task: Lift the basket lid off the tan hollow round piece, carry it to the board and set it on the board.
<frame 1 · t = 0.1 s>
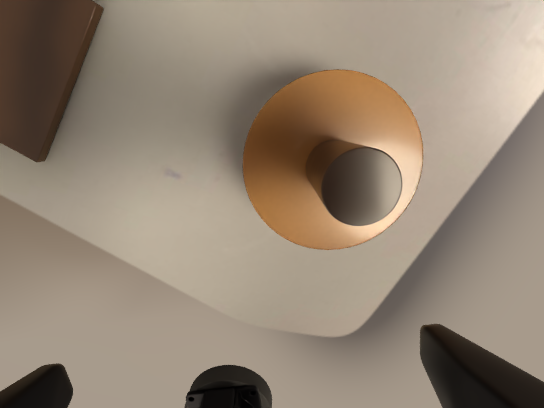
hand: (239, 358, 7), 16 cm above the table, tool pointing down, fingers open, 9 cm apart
basket lid: (330, 165, 16), point 5 cm above the table, touching tan hollow round piece
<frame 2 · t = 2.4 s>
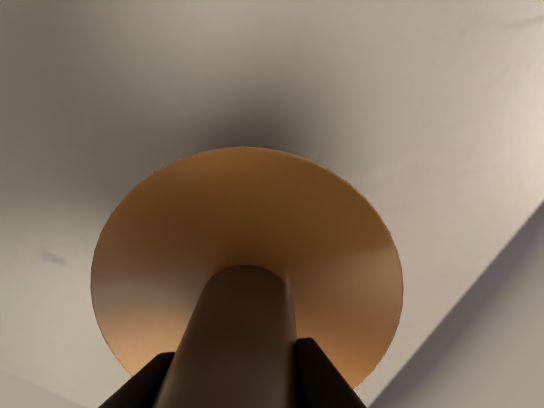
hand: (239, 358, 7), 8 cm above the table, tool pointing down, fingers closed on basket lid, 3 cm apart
basket lid: (248, 295, 10), point 6 cm above the table, touching tan hollow round piece, gripper
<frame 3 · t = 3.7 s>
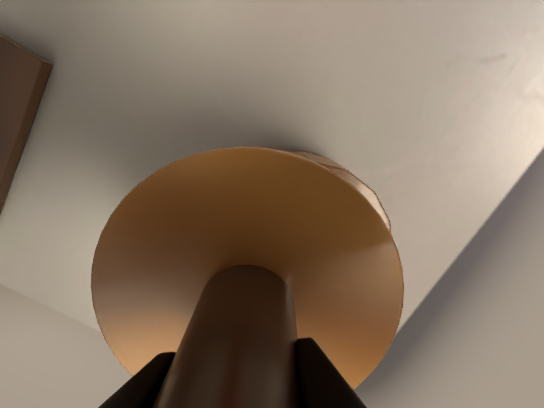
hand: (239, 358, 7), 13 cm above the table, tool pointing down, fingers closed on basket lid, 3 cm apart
basket lid: (248, 295, 10), point 10 cm above the table, touching gripper
tan hollow round piece: (294, 217, 20), on the table
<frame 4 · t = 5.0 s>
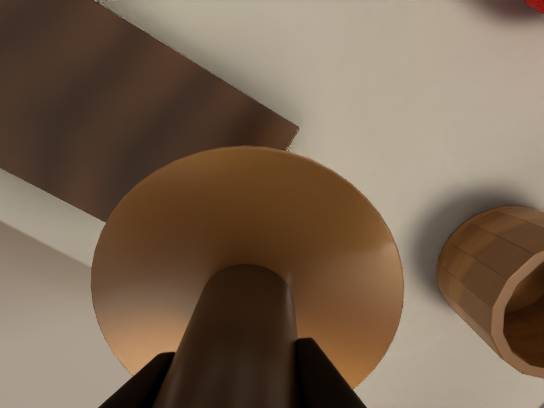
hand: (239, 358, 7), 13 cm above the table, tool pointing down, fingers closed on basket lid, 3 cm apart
basket lid: (248, 294, 10), point 10 cm above the table, touching gripper
tan hollow round piece: (499, 265, 21), on the table
board: (90, 113, 18), on the table
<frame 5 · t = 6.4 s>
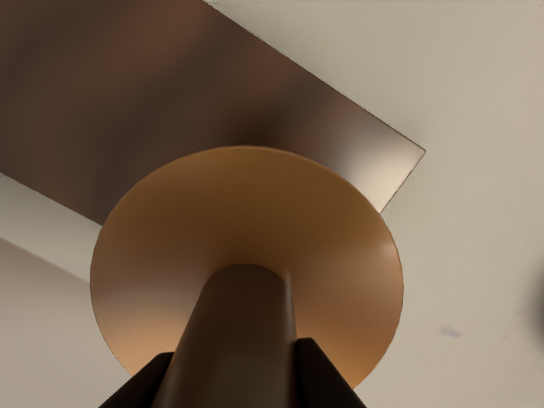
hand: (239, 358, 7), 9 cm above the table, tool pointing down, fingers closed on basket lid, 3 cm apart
basket lid: (248, 294, 10), point 6 cm above the table, touching gripper
board: (159, 127, 14), on the table
when the fingers open (4 cm above the table, at t = 7.8 s): basket lid stays where it is, resting on board.
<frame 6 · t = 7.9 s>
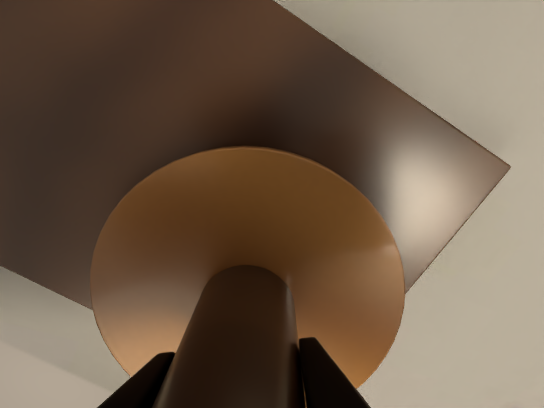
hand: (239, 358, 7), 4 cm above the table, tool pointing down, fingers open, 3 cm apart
basket lid: (248, 296, 10), point 1 cm above the table, touching board
board: (101, 130, 10), on the table
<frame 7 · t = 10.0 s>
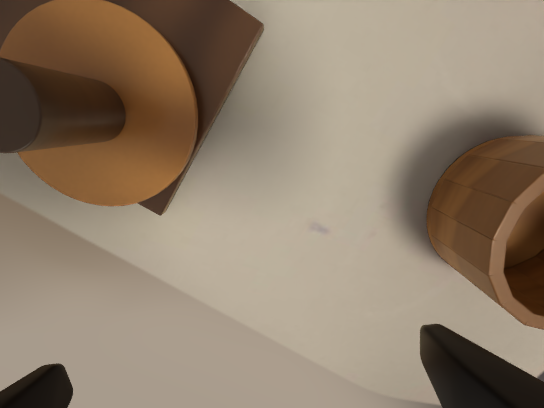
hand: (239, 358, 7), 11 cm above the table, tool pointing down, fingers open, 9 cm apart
basket lid: (103, 112, 15), point 1 cm above the table, touching board
tan hollow round piece: (499, 209, 18), on the table
board: (6, 2, 15), on the table
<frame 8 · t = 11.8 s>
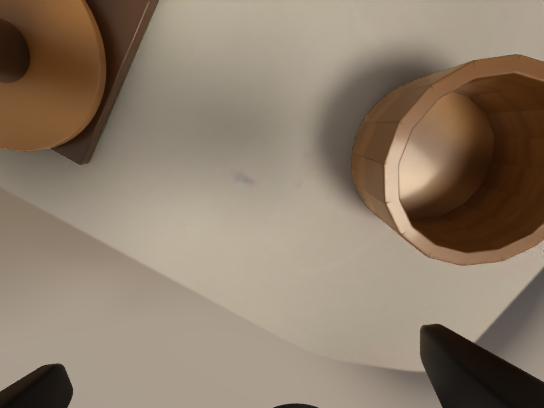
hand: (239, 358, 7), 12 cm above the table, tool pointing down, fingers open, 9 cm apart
basket lid: (11, 54, 15), point 1 cm above the table, touching board
tan hollow round piece: (424, 157, 18), on the table
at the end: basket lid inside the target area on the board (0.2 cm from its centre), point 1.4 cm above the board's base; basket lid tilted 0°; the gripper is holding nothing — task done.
